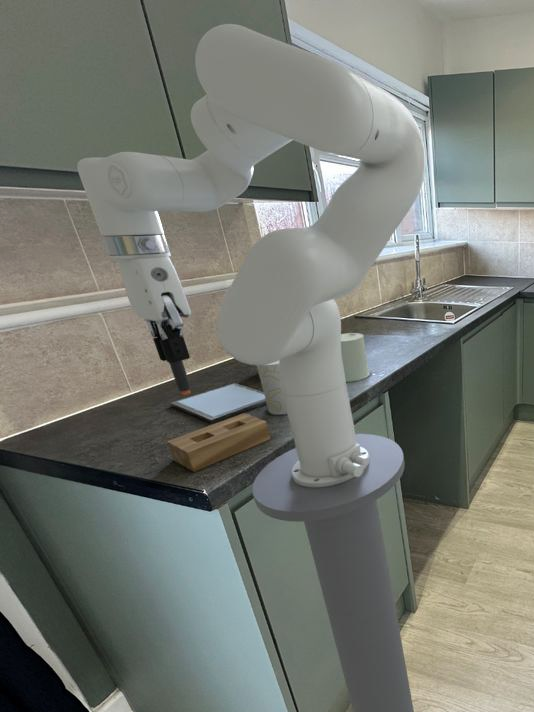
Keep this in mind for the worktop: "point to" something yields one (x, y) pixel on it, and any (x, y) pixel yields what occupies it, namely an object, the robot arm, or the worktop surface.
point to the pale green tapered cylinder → (354, 357)
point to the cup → (272, 387)
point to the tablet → (221, 402)
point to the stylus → (180, 376)
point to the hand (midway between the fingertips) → (175, 358)
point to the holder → (218, 441)
